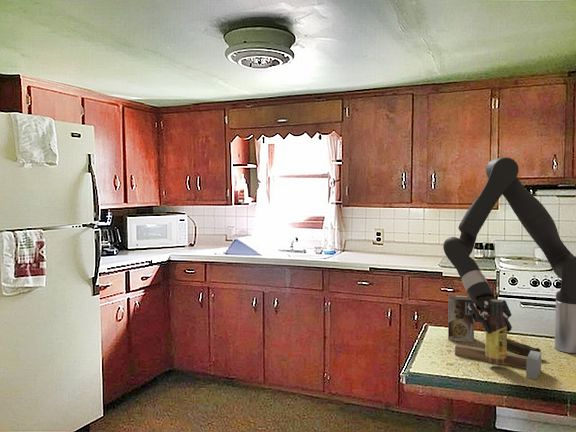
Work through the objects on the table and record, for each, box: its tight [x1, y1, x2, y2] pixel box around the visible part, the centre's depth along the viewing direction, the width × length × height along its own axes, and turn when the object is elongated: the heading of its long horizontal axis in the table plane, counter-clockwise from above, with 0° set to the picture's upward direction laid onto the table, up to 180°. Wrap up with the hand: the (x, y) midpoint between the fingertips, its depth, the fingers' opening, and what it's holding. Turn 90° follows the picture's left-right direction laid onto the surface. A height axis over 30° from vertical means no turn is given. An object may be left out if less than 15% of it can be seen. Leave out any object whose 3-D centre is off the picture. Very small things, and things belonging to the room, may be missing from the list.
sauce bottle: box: [484, 298, 508, 365], centre depth 155 cm, size 6×6×20 cm
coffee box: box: [447, 294, 475, 343], centre depth 183 cm, size 9×6×16 cm
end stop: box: [525, 351, 542, 380], centre depth 149 cm, size 8×3×6 cm, turn 145°
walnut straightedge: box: [454, 343, 527, 369], centre depth 161 cm, size 2×23×3 cm, turn 55°
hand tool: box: [507, 338, 542, 356], centre depth 170 cm, size 19×4×5 cm, turn 24°
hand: (500, 331), depth 153 cm, fingers closed on sauce bottle, 6 cm apart
